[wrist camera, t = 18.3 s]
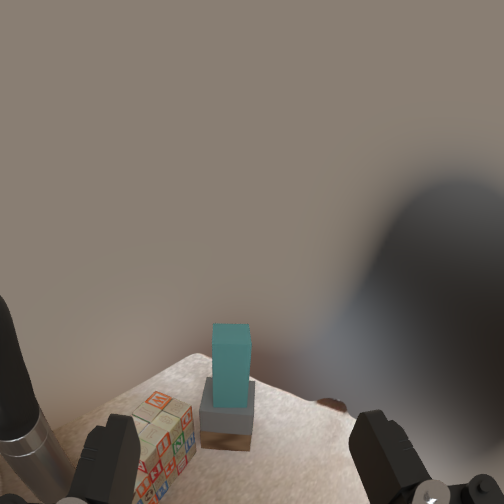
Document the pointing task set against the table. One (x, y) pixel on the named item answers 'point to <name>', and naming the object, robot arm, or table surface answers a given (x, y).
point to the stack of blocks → (162, 445)
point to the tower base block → (225, 441)
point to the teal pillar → (231, 365)
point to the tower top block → (226, 413)
